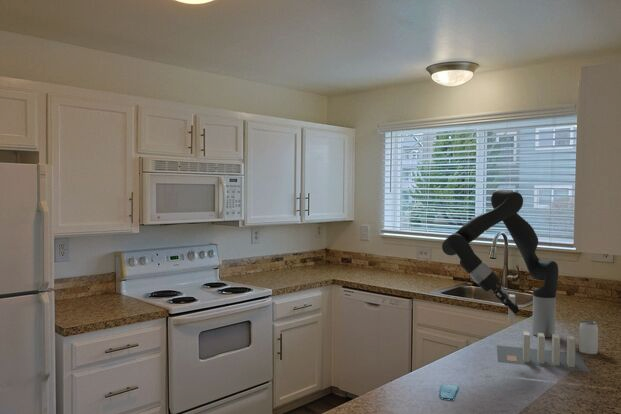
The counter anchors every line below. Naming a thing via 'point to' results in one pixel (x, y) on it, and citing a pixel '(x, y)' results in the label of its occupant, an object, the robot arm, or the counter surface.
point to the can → (588, 337)
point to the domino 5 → (570, 351)
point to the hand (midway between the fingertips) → (517, 310)
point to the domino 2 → (526, 346)
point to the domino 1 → (510, 314)
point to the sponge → (448, 391)
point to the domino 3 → (541, 348)
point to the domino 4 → (555, 349)
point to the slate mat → (516, 357)
